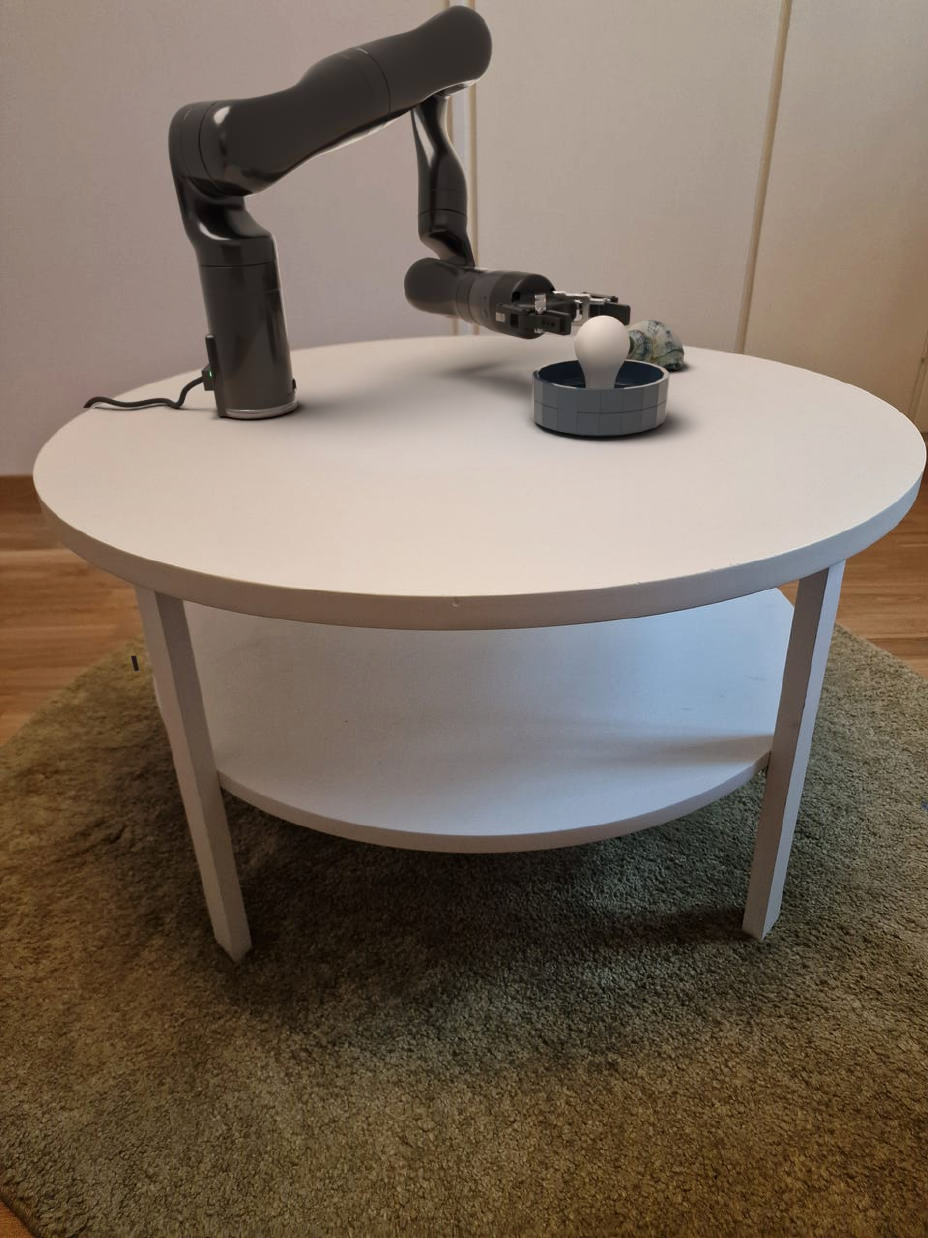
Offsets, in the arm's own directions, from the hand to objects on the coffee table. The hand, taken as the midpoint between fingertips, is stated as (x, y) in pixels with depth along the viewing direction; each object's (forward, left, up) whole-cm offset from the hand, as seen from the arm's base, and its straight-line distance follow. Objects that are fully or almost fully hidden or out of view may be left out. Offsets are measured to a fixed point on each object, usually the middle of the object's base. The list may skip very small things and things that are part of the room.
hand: (599, 320), depth 93 cm
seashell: (+11, +25, -11) cm, 30 cm away
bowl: (0, 0, -11) cm, 11 cm away
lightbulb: (0, 0, -11) cm, 11 cm away
